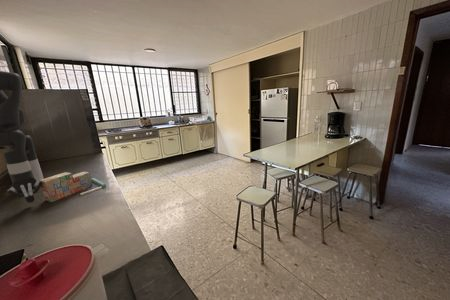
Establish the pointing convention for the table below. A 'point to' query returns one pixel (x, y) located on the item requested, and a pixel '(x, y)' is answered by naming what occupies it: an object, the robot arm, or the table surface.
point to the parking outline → (95, 188)
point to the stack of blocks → (64, 185)
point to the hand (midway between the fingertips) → (31, 202)
